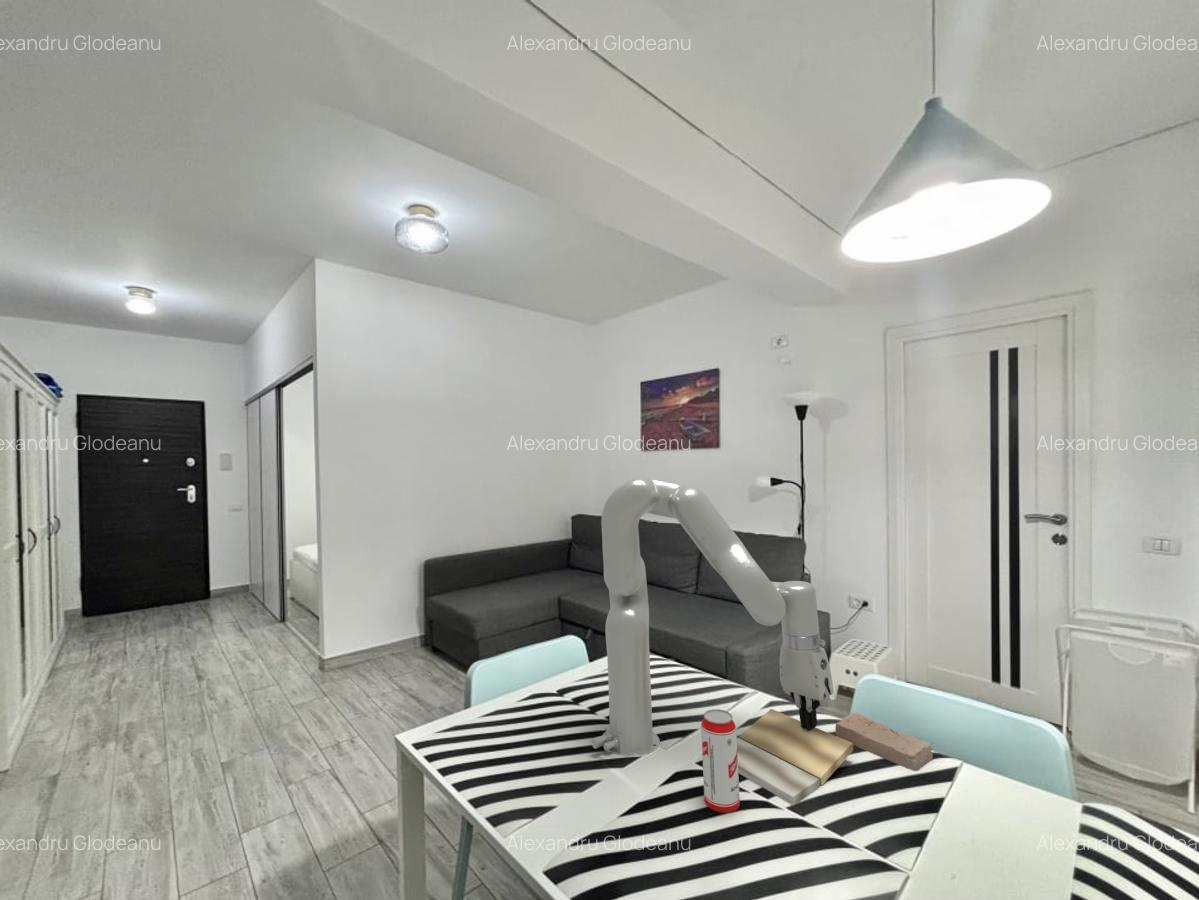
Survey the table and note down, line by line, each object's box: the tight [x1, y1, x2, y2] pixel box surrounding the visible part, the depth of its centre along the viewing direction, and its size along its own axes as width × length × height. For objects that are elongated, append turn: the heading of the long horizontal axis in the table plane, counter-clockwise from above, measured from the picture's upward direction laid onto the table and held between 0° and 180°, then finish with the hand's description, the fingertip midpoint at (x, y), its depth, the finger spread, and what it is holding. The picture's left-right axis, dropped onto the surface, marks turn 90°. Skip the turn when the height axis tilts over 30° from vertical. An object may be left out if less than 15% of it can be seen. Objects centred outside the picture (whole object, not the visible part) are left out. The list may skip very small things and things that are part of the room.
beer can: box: [700, 708, 741, 814], centre depth 89 cm, size 6×6×16 cm
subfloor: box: [737, 736, 820, 806], centre depth 101 cm, size 24×20×2 cm
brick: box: [834, 712, 934, 772], centre depth 104 cm, size 16×8×5 cm, turn 34°
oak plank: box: [738, 708, 854, 786], centre depth 103 cm, size 12×19×2 cm, turn 36°
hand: (808, 727), depth 106 cm, fingers closed
